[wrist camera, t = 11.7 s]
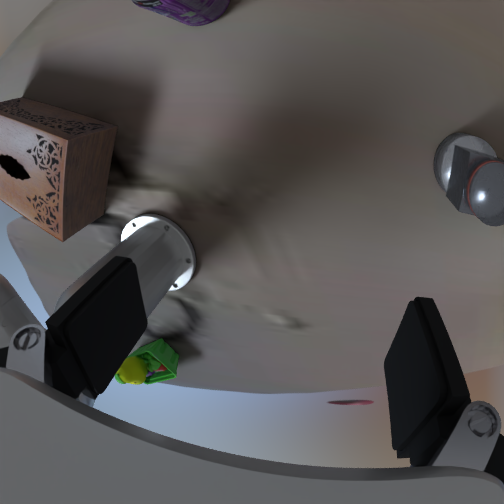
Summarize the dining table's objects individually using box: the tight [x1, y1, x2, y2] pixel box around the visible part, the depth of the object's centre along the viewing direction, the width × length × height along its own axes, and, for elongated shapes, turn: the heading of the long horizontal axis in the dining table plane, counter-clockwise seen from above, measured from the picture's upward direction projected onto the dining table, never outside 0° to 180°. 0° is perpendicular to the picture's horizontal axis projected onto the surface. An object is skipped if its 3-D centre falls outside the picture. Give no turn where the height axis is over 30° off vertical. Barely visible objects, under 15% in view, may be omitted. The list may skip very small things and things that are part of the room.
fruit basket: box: [115, 339, 179, 384], centre depth 51 cm, size 11×9×11 cm
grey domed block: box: [446, 145, 504, 226], centre depth 22 cm, size 6×6×7 cm
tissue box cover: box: [0, 97, 118, 242], centre depth 35 cm, size 26×14×10 cm, turn 69°
